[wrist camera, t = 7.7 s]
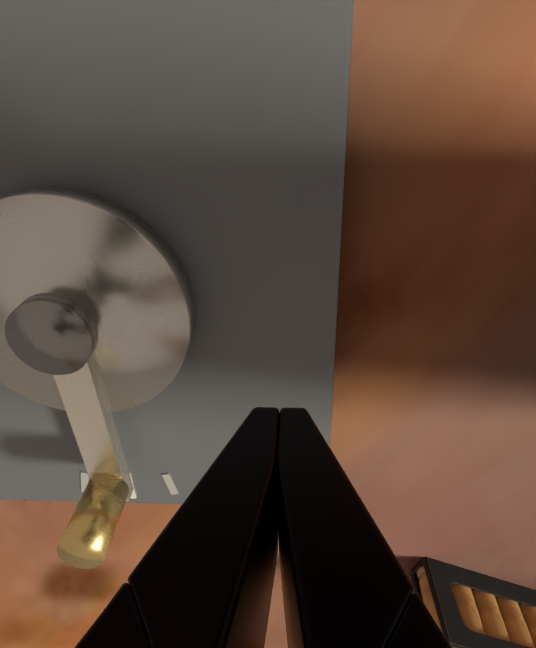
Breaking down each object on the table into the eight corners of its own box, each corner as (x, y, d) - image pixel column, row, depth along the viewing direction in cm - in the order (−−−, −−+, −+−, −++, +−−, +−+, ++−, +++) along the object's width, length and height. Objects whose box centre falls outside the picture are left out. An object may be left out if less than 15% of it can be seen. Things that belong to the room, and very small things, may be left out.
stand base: (-327, -68, 15) (-376, -77, 14) (355, -102, 14) (360, -115, 13) (-40, 481, 29) (-53, 499, 28) (325, 490, 27) (326, 509, 26)
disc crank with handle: (-84, 191, 18) (-221, 245, 13) (175, 181, 17) (129, 233, 12) (35, 469, 26) (-24, 566, 21) (218, 470, 25) (200, 570, 20)
